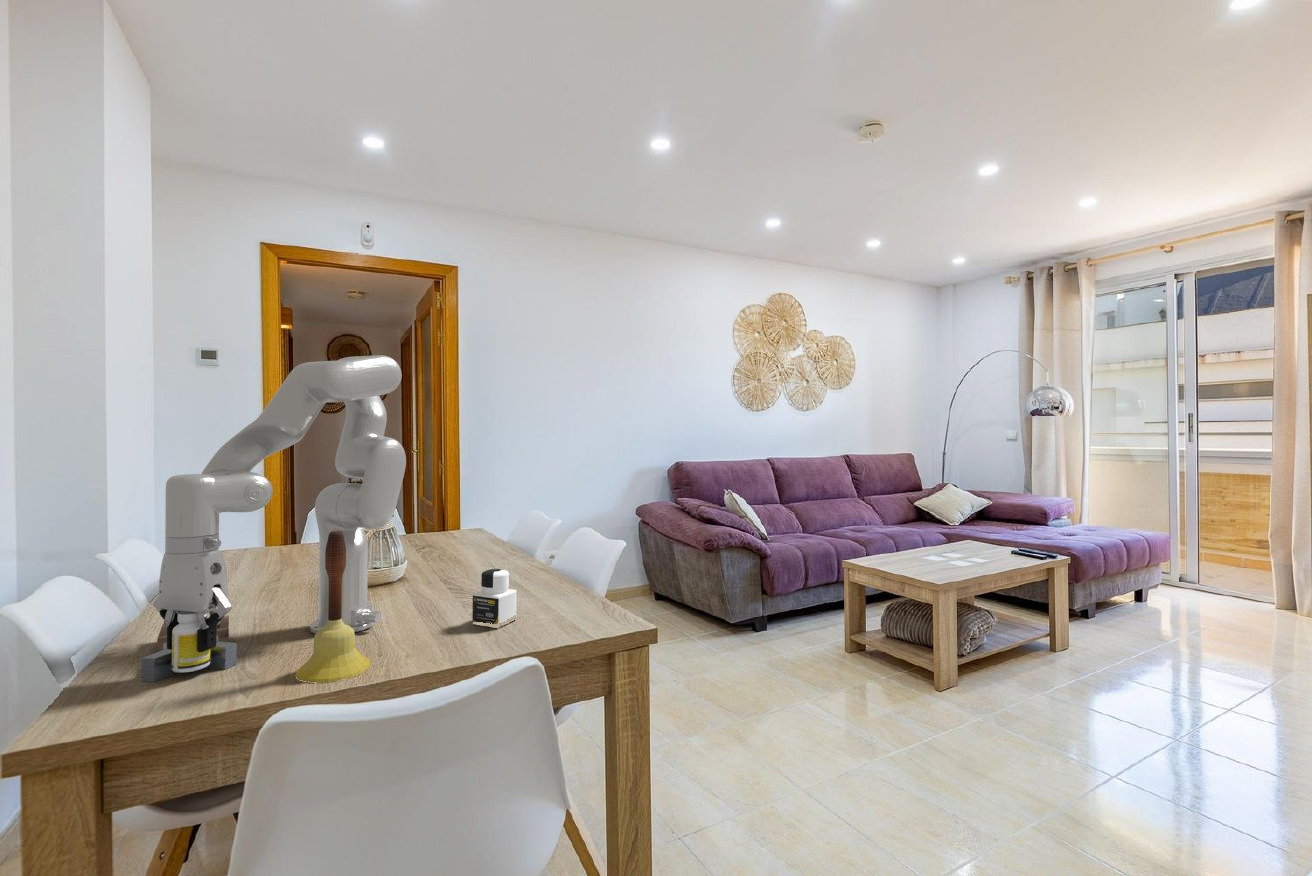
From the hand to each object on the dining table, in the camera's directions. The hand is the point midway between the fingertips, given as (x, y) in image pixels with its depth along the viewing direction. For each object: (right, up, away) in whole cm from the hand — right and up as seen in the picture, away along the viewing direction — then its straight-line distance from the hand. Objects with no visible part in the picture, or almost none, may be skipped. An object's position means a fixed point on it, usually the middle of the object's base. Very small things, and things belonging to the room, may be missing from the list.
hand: (191, 647), depth 107 cm
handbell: (+23, -5, +3) cm, 24 cm away
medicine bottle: (+45, -6, +32) cm, 55 cm away
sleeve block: (-11, -5, +15) cm, 20 cm away
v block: (-2, -5, +3) cm, 6 cm away
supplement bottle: (0, -4, 0) cm, 4 cm away
